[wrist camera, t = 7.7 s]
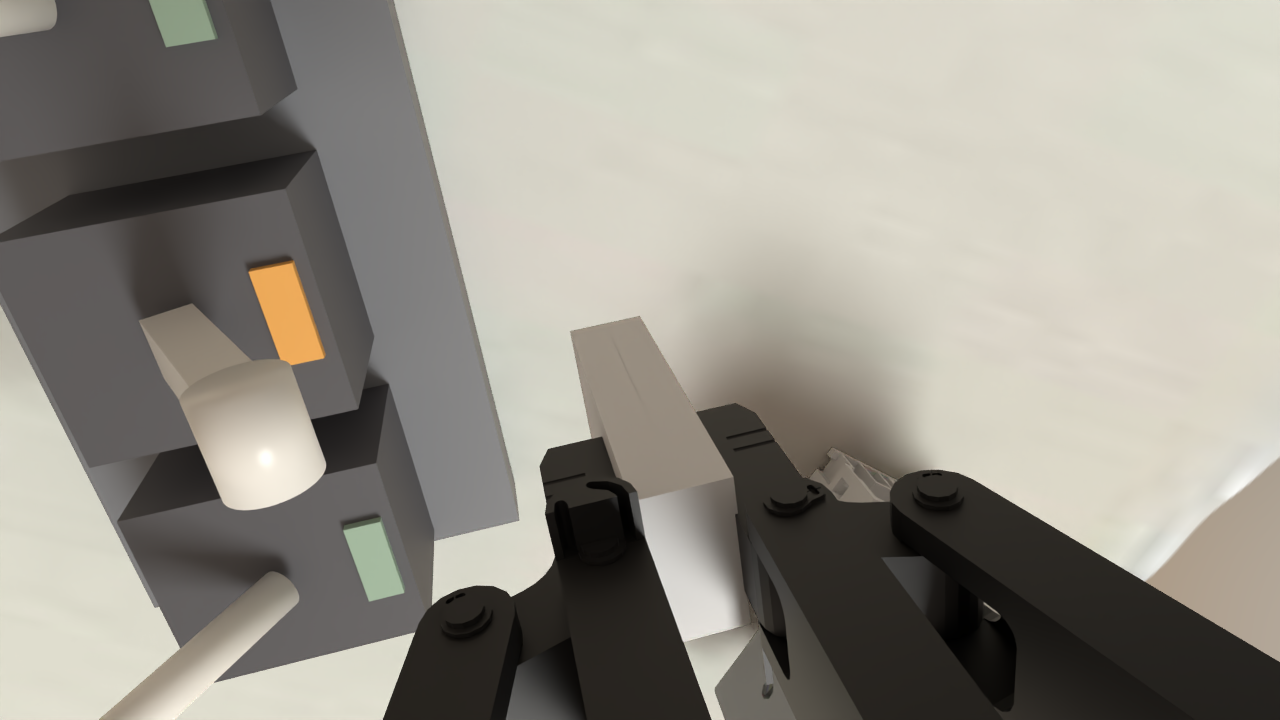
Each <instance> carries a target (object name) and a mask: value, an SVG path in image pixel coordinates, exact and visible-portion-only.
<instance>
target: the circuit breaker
mask: <svg viewBox="0 0 1280 720" xmlns="http://www.w3.org/2000/svg"><path fill="white" fill-rule="evenodd" d="M827 455H828V456H829V457H830V458H832V459H831V460H830V462H829V463H828V464H827V466H826V467H825V468H824V470H823V471H821V470H819V469H816V470H815V471H814V473H813V474H812V475H811V477H810V478H809V479H811V480H813V481H816V482H819V483H822V484H823V485H824V486H825V487H826V488H828V489H829V490H830V491H831V492H832V493H833V494H834V496H835V497H836V498H837V500H839V501H844V502H861V503H862V502H889V501H890V490H891V488H892V486H893V484H894V483H895V482H896V481H897V480H896V479H894V478H892V477H890V476H888V475H886V474H884V473H882V472H880V471H878V470H876V469H874V468H872V467H870V466H868V465H866V464H865V463H863V462H861V461H859V460H857V459H855V458H853V457H851V456H849V455H847V454H845V453H843V452H841V451H839V450H837V449H835V448H833V447H832V448H831V449H830V451H829V452H828V453H827ZM984 605H986V606H987V607H988V608H990V609H991V610H992V611H994V612H996V611H995V610H994V609H993V608H991V607H990V606H989V605H987V604H986V603H985V602H984ZM996 613H998V612H996ZM998 614H999V613H998ZM999 615H1000V614H999ZM772 674H773V684H769V685H766V680H765V674H764V666H763V658H762V649H761V640H760V632H759V630H758V631H757V632H756V634H755V635H754V636H753V638H752V639H751V640H750V642H749V643H748V644H747V646H746V647H745V648H744V650H743V651H742V652H741V654H740V655H739V656H738V658H737V659H736V660H735V662H734V663H733V664H732V666H731V667H730V668H729V670H728V671H727V672H726V674H725V675H724V676H723V678H722V679H721V680H720V682H719V683H718V685H717V686H716V687H715V694H716V696H717V699H718V702H719V705H720V707H721V710H722V713H723V716H724V718H725V720H796V718H795V716H794V714H793V712H792V710H791V708H790V706H789V703H788V701H787V699H786V697H785V695H784V693H783V691H782V689H781V686H780V684H779V682H778V680H777V678H776V676H775V674H774V672H773V670H772Z"/></svg>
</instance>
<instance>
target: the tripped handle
mask: <svg viewBox="0 0 1280 720" xmlns="http://www.w3.org/2000/svg"><path fill="white" fill-rule="evenodd" d="M139 322H140V325H141V327H142V329H143V332H144V334H145V336H146V338H147V341H148V343H149V345H150V348H151V350H152V352H153V354H154V357H155V359H156V361H157V364H158V366H159V368H160V370H161V373H162V375H163V377H164V379H165V381H166V382H167V383H168V385H169V386H170V388H171V389H172V391H173V392H174V393H175V395H176V396H177V398H178V399H179V402H180V405H181V407H182V409H183V411H184V414H185V416H186V418H187V421H188V423H189V425H190V428H191V430H192V432H193V435H194V437H195V439H196V441H197V444H198V446H199V448H200V451H201V453H202V455H203V458H204V460H205V462H206V464H207V467H208V469H209V471H210V474H211V476H212V478H213V481H214V483H215V485H216V488H217V490H218V492H219V494H220V497H221V499H222V501H223V503H224V504H225V505H226V506H227V507H229V508H232V509H236V510H255V509H261V508H266V507H270V506H273V505H276V504H279V503H282V502H285V501H287V500H289V499H291V498H293V497H295V496H297V495H299V494H301V493H303V492H304V491H306V490H307V489H309V488H310V487H311V486H312V485H314V484H315V483H316V482H317V481H318V480H319V479H320V478H321V476H322V475H323V474H324V472H325V469H326V461H325V459H324V456H323V453H322V450H321V448H320V445H319V442H318V439H317V437H316V434H315V431H314V428H313V425H312V423H311V420H310V417H309V414H308V412H307V409H306V406H305V403H304V401H303V398H302V395H301V392H300V390H299V387H298V384H297V381H296V378H295V376H294V373H293V370H292V367H291V365H290V364H289V363H288V362H286V361H284V360H279V359H262V360H255V361H252V360H251V359H250V358H249V357H248V356H246V355H245V354H244V353H243V352H242V351H241V350H240V349H239V348H238V347H237V346H236V345H235V344H234V343H233V342H232V341H231V340H230V339H229V338H228V337H227V336H226V335H225V334H224V333H223V332H221V331H220V330H219V329H218V328H217V327H216V326H215V325H214V324H213V323H212V322H211V321H210V320H209V319H208V318H207V317H206V316H205V315H204V314H203V313H202V312H201V311H200V310H199V309H198V308H196V307H195V306H194V305H193V304H192V303H191V304H188V305H185V306H182V307H179V308H176V309H173V310H170V311H167V312H164V313H161V314H158V315H154V316H151V317H148V318H145V319H142V320H139Z"/></svg>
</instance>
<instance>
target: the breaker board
mask: <svg viewBox="0 0 1280 720" xmlns="http://www.w3.org/2000/svg"><path fill="white" fill-rule="evenodd" d="M191 303H192V304H193V305H194V306H195V307H196V308H198V309H199V310H200V311H201V312H202V313H203V314H204V315H205V316H206V317H207V318H208V319H209V320H210V321H211V322H212V323H213V324H214V325H215V326H216V327H217V328H218V329H219V330H220V331H221V332H223V333H224V334H225V335H226V336H227V337H228V338H229V339H230V340H231V341H232V342H233V343H234V344H235V345H236V346H237V347H238V348H239V349H240V350H241V351H242V352H243V353H244V354H245V355H246V356H248V357H249V358H250V359H251V360H252V361H255V360H262V359H279V360H284V361H286V362H288V363H289V364H290V365H291V367H292V370H293V373H294V376H295V378H296V381H297V384H298V387H299V390H300V392H301V395H302V398H303V401H304V403H305V406H306V409H307V412H308V414H309V417H310V420H311V423H312V425H313V428H314V431H315V434H316V437H317V439H318V442H319V445H320V448H321V450H322V453H323V456H324V459H325V461H326V469H325V472H324V474H323V475H322V476H321V478H320V479H319V480H318V481H317V482H316V483H315V484H314V485H312V486H311V487H310V488H309V489H307V490H306V491H304V492H303V493H301V494H299V495H297V496H295V497H293V498H291V499H289V500H287V501H285V502H282V503H279V504H276V505H273V506H270V507H266V508H261V509H255V510H236V509H232V508H229V507H227V506H226V505H225V504H224V503H223V501H222V499H221V497H220V494H219V492H218V490H217V488H216V485H215V483H214V481H213V478H212V476H211V474H210V471H209V469H208V467H207V464H206V462H205V460H204V458H203V455H202V453H201V451H200V448H199V446H198V444H197V441H196V439H195V437H194V435H193V432H192V430H191V428H190V425H189V423H188V421H187V418H186V416H185V414H184V411H183V409H182V407H181V405H180V402H179V399H178V398H177V396H176V395H175V393H174V392H173V391H172V389H171V388H170V386H169V385H168V383H167V382H166V381H165V379H164V377H163V375H162V373H161V370H160V368H159V366H158V364H157V361H156V359H155V357H154V354H153V352H152V350H151V348H150V345H149V343H148V341H147V338H146V336H145V334H144V332H143V329H142V327H141V325H140V322H139V320H142V319H145V318H148V317H151V316H154V315H158V314H161V313H164V312H167V311H170V310H173V309H176V308H179V307H182V306H185V305H188V304H191ZM0 305H1V307H2V308H3V310H4V312H5V314H6V316H7V318H8V320H9V322H10V324H11V326H12V328H13V330H14V332H15V334H16V336H17V338H18V340H19V342H20V344H21V346H22V348H23V350H24V352H25V354H26V356H27V358H28V360H29V362H30V364H31V365H32V367H33V369H34V371H35V373H36V375H37V377H38V379H39V381H40V383H41V385H42V387H43V389H44V391H45V393H46V395H47V397H48V399H49V401H50V403H51V405H52V407H53V409H54V411H55V413H56V415H57V417H58V419H59V421H60V422H61V424H62V426H63V428H64V430H65V432H66V434H67V436H68V438H69V440H70V442H71V444H72V446H73V448H74V450H75V452H76V454H77V456H78V458H79V460H80V462H81V464H82V466H83V468H84V470H85V472H86V474H87V476H88V478H89V479H90V481H91V483H92V485H93V487H94V489H95V491H96V493H97V495H98V497H99V499H100V501H101V503H102V505H103V507H104V509H105V511H106V513H107V515H108V517H109V519H110V521H111V523H112V525H113V527H114V529H115V531H116V533H117V535H118V536H119V538H120V540H121V542H122V544H123V546H124V548H125V550H126V552H127V554H128V556H129V558H130V560H131V562H132V564H133V566H134V568H135V570H136V572H137V574H138V576H139V578H140V580H141V582H142V584H143V586H144V588H145V590H146V592H147V593H148V595H149V597H150V599H151V601H152V603H153V605H154V607H155V608H156V607H160V609H161V611H162V613H163V615H164V617H165V619H166V621H167V623H168V625H169V627H170V629H171V631H172V633H173V635H174V637H175V639H176V641H177V643H178V645H179V647H180V649H179V650H178V651H177V652H176V653H175V654H174V655H172V656H171V657H170V658H169V659H168V660H167V661H166V662H164V663H163V664H162V665H161V666H160V667H159V668H158V669H156V670H155V671H154V672H153V673H152V674H151V675H150V676H148V677H147V678H146V679H145V680H144V681H143V682H141V683H140V684H139V685H138V686H137V687H136V688H135V689H133V690H132V691H131V692H130V693H129V694H128V695H127V696H125V697H124V698H123V699H122V700H121V701H120V702H119V703H117V704H116V705H115V706H114V707H113V708H112V709H110V710H109V711H108V712H107V713H106V714H105V715H104V716H102V717H101V718H100V719H99V720H175V719H176V718H177V717H178V716H179V715H180V714H181V713H182V712H183V711H184V710H185V709H186V708H187V707H188V706H189V705H191V704H192V703H193V702H194V701H195V700H196V699H197V698H198V697H199V696H200V695H201V694H202V693H203V692H204V691H205V690H206V689H207V688H208V687H210V686H211V685H212V684H213V683H215V682H219V681H223V680H227V679H231V678H235V677H239V676H242V675H246V674H250V673H254V672H258V671H262V670H266V669H270V668H274V667H278V666H282V665H286V664H290V663H294V662H298V661H302V660H306V659H310V658H314V657H318V656H322V655H326V654H330V653H334V652H338V651H342V650H346V649H350V648H354V647H358V646H362V645H366V644H370V643H374V642H378V641H382V640H386V639H390V638H394V637H398V636H402V635H406V634H410V633H414V632H416V629H417V627H418V624H419V622H420V620H421V619H422V617H423V616H424V614H425V612H426V611H427V610H428V609H429V608H430V607H431V606H432V585H433V557H434V541H436V540H440V539H444V538H448V537H453V536H457V535H461V534H465V533H469V532H474V531H478V530H482V529H486V528H490V527H494V526H499V525H503V524H507V523H511V522H515V521H519V514H518V505H517V497H516V489H515V482H514V478H513V474H512V470H511V466H510V462H509V458H508V454H507V450H506V446H505V442H504V438H503V434H502V430H501V426H500V422H499V418H498V414H497V410H496V406H495V402H494V398H493V394H492V391H491V387H490V383H489V379H488V375H487V371H486V367H485V363H484V359H483V355H482V351H481V347H480V343H479V339H478V335H477V331H476V327H475V323H474V319H473V315H472V311H471V307H470V303H469V299H468V295H467V291H466V287H465V283H464V279H463V275H462V271H461V267H460V263H459V259H458V255H457V251H456V247H455V243H454V239H453V236H452V232H451V228H450V224H449V220H448V216H447V212H446V208H445V204H444V200H443V196H442V192H441V188H440V184H439V180H438V176H437V172H436V168H435V164H434V160H433V156H432V152H431V148H430V144H429V140H428V136H427V132H426V128H425V124H424V120H423V116H422V112H421V108H420V104H419V100H418V96H417V92H416V88H415V84H414V80H413V77H412V73H411V69H410V65H409V61H408V57H407V53H406V49H405V45H404V41H403V37H402V33H401V29H400V25H399V21H398V17H397V13H396V9H395V5H394V1H393V0H0Z"/></svg>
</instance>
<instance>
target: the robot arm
mask: <svg viewBox="0 0 1280 720" xmlns="http://www.w3.org/2000/svg"><path fill="white" fill-rule="evenodd" d="M570 333H571V338H572V343H573V348H574V353H575V358H576V363H577V368H578V373H579V378H580V383H581V388H582V393H583V398H584V403H585V408H586V413H587V418H588V423H589V428H590V433H591V438H592V439H589V440H585V441H580V442H576V443H572V444H568V445H563V446H559V447H555V448H551V449H548V450H547V452H546V454H545V456H544V458H543V460H542V462H541V464H540V471H541V477H542V482H543V487H544V492H545V497H546V503H547V505H546V511H545V516H546V520H547V524H548V528H549V533H550V537H551V541H552V545H553V550H554V554H555V559H554V561H553V564H552V566H551V568H550V569H549V570H548V572H547V573H546V574H545V575H544V576H543V577H542V578H541V579H540V580H539V581H538V582H537V583H535V584H534V585H532V586H531V587H529V588H527V589H526V590H524V591H522V592H520V593H518V594H516V595H514V596H512V597H510V596H509V594H508V593H507V592H506V591H504V590H501V589H499V588H496V587H494V586H472V587H468V588H464V589H459V590H457V591H455V592H453V593H450V594H448V595H446V596H444V597H442V598H441V599H439V600H438V601H437V602H436V603H435V604H433V605H432V606H431V607H430V608H429V609H428V610H427V611H426V612H425V614H424V616H423V617H422V619H421V620H420V622H419V624H418V627H417V629H416V632H415V635H414V637H413V640H412V643H411V645H410V648H409V651H408V654H407V656H406V659H405V662H404V664H403V667H402V670H401V672H400V675H399V678H398V680H397V683H396V686H395V688H394V691H393V694H392V696H391V699H390V702H389V705H388V707H387V710H386V713H385V715H384V718H383V720H711V717H710V714H709V712H708V709H707V706H706V703H705V701H704V698H703V695H702V692H701V690H700V687H699V684H698V681H697V679H696V676H695V673H694V670H693V668H692V665H691V662H690V659H689V657H688V654H687V651H686V648H685V646H684V643H683V642H686V641H689V640H693V639H697V638H701V637H704V636H708V635H712V634H716V633H719V632H723V631H727V630H730V629H734V628H738V627H742V626H745V625H749V624H751V618H750V610H749V601H750V603H751V605H752V607H753V609H754V611H755V613H756V615H757V617H758V623H759V632H760V640H761V649H762V658H763V666H764V674H765V680H766V685H769V684H773V674H772V670H773V672H774V674H775V676H776V678H777V680H778V682H779V684H780V686H781V689H782V691H783V693H784V695H785V697H786V699H787V701H788V703H789V706H790V708H791V710H792V712H793V714H794V716H795V718H796V720H1280V662H1279V661H1277V660H1275V659H1273V658H1272V657H1270V656H1269V655H1267V654H1265V653H1263V652H1261V651H1260V650H1258V649H1257V648H1255V647H1253V646H1252V645H1250V644H1248V643H1247V642H1245V641H1243V640H1242V639H1240V638H1238V637H1236V636H1235V635H1233V634H1231V633H1230V632H1228V631H1226V630H1225V629H1223V628H1221V627H1220V626H1218V625H1216V624H1215V623H1213V622H1211V621H1210V620H1208V619H1206V618H1204V617H1203V616H1201V615H1200V614H1198V613H1196V612H1195V611H1193V610H1191V609H1189V608H1188V607H1186V606H1185V605H1183V604H1181V603H1179V602H1178V601H1176V600H1174V599H1173V598H1171V597H1169V596H1168V595H1166V594H1164V593H1163V592H1161V591H1159V590H1157V589H1156V588H1154V587H1153V586H1151V585H1149V584H1148V583H1146V582H1144V581H1143V580H1141V579H1139V578H1138V577H1136V576H1134V575H1133V574H1131V573H1129V572H1127V571H1126V570H1124V569H1122V568H1121V567H1119V566H1117V565H1116V564H1114V563H1112V562H1111V561H1109V560H1107V559H1106V558H1104V557H1102V556H1101V555H1099V554H1097V553H1096V552H1094V551H1092V550H1091V549H1089V548H1087V547H1086V546H1084V545H1082V544H1080V543H1079V542H1077V541H1075V540H1074V539H1072V538H1070V537H1069V536H1067V535H1065V534H1064V533H1062V532H1060V531H1059V530H1057V529H1055V528H1054V527H1052V526H1050V525H1049V524H1047V523H1045V522H1044V521H1042V520H1040V519H1039V518H1037V517H1035V516H1033V515H1032V514H1030V513H1028V512H1027V511H1025V510H1023V509H1022V508H1020V507H1018V506H1017V505H1015V504H1013V503H1012V502H1010V501H1008V500H1007V499H1005V498H1003V497H1002V496H1000V495H998V494H997V493H995V492H993V491H992V490H990V489H988V488H986V487H985V486H983V485H981V484H980V483H978V482H976V481H975V480H973V479H971V478H968V477H966V476H964V475H961V474H959V473H955V472H949V471H943V470H923V471H918V472H915V473H911V474H907V475H905V476H903V477H902V478H900V479H899V480H897V481H896V482H895V483H894V484H893V486H892V488H891V490H890V501H889V502H862V503H861V502H844V501H839V500H837V498H836V497H835V496H834V494H833V493H832V492H831V491H830V490H829V489H828V488H826V487H825V486H824V485H823V484H822V483H819V482H816V481H813V480H811V479H808V478H802V477H801V475H800V474H799V473H798V471H797V470H796V469H795V467H794V466H793V464H792V463H791V462H790V460H789V459H788V457H787V456H786V455H785V453H784V452H783V451H782V449H781V448H780V446H779V445H778V444H777V442H775V441H774V438H773V437H772V435H771V434H770V433H769V431H768V430H766V427H765V426H764V424H763V423H762V421H761V420H760V419H759V417H758V416H757V415H756V413H754V412H752V411H750V410H748V409H746V408H744V407H742V406H740V405H739V404H737V403H734V404H730V405H725V406H721V407H717V408H712V409H708V410H704V411H700V412H695V410H694V408H693V406H692V405H691V403H690V401H689V400H688V398H687V396H686V394H685V393H684V391H683V389H682V388H681V386H680V384H679V382H678V381H677V379H676V377H675V376H674V374H673V372H672V370H671V369H670V367H669V365H668V364H667V362H666V360H665V358H664V357H663V355H662V353H661V352H660V350H659V348H658V346H657V345H656V343H655V341H654V340H653V338H652V336H651V334H650V333H649V331H648V329H647V328H646V326H645V324H644V322H643V321H642V319H641V317H640V316H638V317H633V318H629V319H624V320H619V321H615V322H610V323H606V324H601V325H596V326H592V327H587V328H583V329H578V330H574V331H570ZM748 599H749V601H748ZM984 602H985V603H986V604H987V605H989V606H990V607H991V608H993V609H994V610H995V611H996V612H998V613H999V614H1000V615H999V614H998V613H996V612H994V611H992V610H991V609H990V608H988V607H987V606H986V605H984Z"/></svg>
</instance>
